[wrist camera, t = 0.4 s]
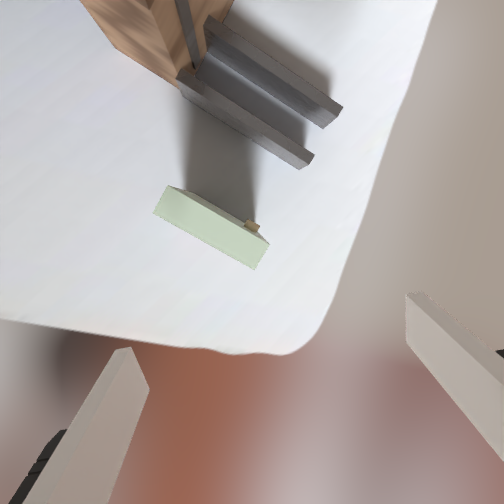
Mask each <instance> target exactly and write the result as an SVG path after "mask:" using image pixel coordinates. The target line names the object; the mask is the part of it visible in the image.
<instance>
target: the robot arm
mask: <svg viewBox="0 0 504 504" xmlns="http://www.w3.org/2000/svg"><path fill="white" fill-rule="evenodd" d="M406 343H407V344H408V345H409V346H410V348H411V349H412V350H413V351H414V352H415V354H416V355H417V356H418V357H419V359H420V360H421V361H422V362H423V363H424V365H425V366H426V367H427V369H428V370H429V371H430V372H431V373H432V375H433V376H434V377H435V378H436V379H437V381H438V382H439V383H440V384H441V386H442V387H443V388H444V389H445V391H446V392H447V393H448V394H449V395H450V397H451V398H452V399H453V400H454V402H455V403H456V404H457V405H458V406H459V407H460V409H461V410H462V411H463V413H464V414H465V415H466V416H467V417H468V419H469V420H470V421H471V422H472V424H473V425H474V426H475V427H476V428H477V430H478V431H479V432H480V433H481V435H482V436H483V437H484V438H485V440H486V441H487V442H488V443H489V444H490V446H491V447H492V448H493V449H494V451H495V452H496V453H497V454H498V455H499V457H500V458H501V459H502V460H503V462H504V349H503V350H497V351H494V350H493V349H491V348H490V347H489V346H488V345H487V344H485V343H484V342H483V341H482V340H481V339H479V338H478V337H477V336H476V335H475V334H473V333H472V332H471V331H470V330H468V329H467V328H466V327H465V326H464V325H463V324H461V323H460V322H459V321H458V320H457V319H455V318H454V317H453V316H451V315H450V314H449V313H448V312H447V311H446V310H444V309H443V308H442V307H441V306H440V305H438V304H437V303H436V302H435V301H434V300H432V299H431V298H430V297H429V296H428V295H426V294H425V293H424V292H423V291H420V292H415V293H409V294H406ZM149 390H150V389H149V386H148V384H147V382H146V380H145V377H144V375H143V373H142V371H141V368H140V366H139V364H138V362H137V359H136V357H135V355H134V353H133V350H132V349H131V347H128V348H122V349H117V350H115V352H114V353H113V355H112V357H111V359H110V360H109V362H108V363H107V365H106V367H105V368H104V370H103V371H102V373H101V375H100V376H99V378H98V380H97V381H96V383H95V385H94V386H93V388H92V390H91V391H90V393H89V395H88V397H87V398H86V400H85V401H84V403H83V404H82V406H81V408H80V409H79V411H78V413H77V414H76V416H75V418H74V419H73V421H72V423H71V424H70V426H69V428H68V429H65V430H60V431H59V432H58V433H57V434H56V435H55V436H54V438H52V440H51V441H50V442H49V443H48V444H47V445H46V446H45V448H44V449H43V451H42V453H41V454H40V456H39V457H38V459H37V462H36V463H34V465H33V466H32V468H31V470H30V471H29V473H28V476H26V477H25V479H24V481H23V482H22V483H21V485H20V487H19V488H18V490H17V491H16V493H15V495H14V496H13V497H12V499H11V501H10V502H9V504H107V503H108V501H109V498H110V495H111V493H112V490H113V487H114V484H115V482H116V479H117V476H118V474H119V471H120V468H121V466H122V463H123V460H124V457H125V455H126V452H127V449H128V447H129V444H130V441H131V439H132V436H133V433H134V430H135V428H136V425H137V423H138V420H139V417H140V414H141V412H142V409H143V406H144V404H145V401H146V398H147V396H148V393H149Z"/></svg>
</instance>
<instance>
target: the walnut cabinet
mask: <svg viewBox="0 0 504 504" xmlns="http://www.w3.org/2000/svg"><path fill="white" fill-rule="evenodd" d="M80 1H81V3H82V4H83V5H84V7H85V8H86V9H87V11H88V12H89V13H90V15H91V16H92V17H93V19H94V20H95V22H96V23H97V24H98V26H99V27H100V28H101V30H102V31H103V32H104V34H105V35H106V36H107V38H108V39H109V40H110V42H111V43H112V44H113V46H114V47H115V48H116V49H117V50H119V51H120V52H122V53H124V54H125V55H127V56H128V57H130V58H131V59H133V60H134V61H136V62H138V63H139V64H141V65H142V66H144V67H145V68H147V69H149V70H150V71H152V72H153V73H155V74H156V75H158V76H160V77H161V78H163V79H164V80H166V81H167V82H169V83H171V84H172V85H174V86H175V87H177V88H178V89H180V88H179V86H178V84H177V81H176V79H175V78H176V76H177V74H178V72H179V71H180V69H181V68H182V69H183V70H185V71H186V72H188V73H190V74H191V75H193V76H194V75H195V74H196V72H197V70H198V68H199V66H200V64H201V62H202V60H203V58H204V56H205V55H206V53H207V48H206V42H205V36H204V30H203V24H204V22H205V20H206V19H207V17H208V15H210V16H212V17H213V18H215V19H216V20H218V21H219V22H221V23H222V22H223V20H224V18H225V17H226V15H227V13H228V11H229V9H230V7H231V5H232V3H233V1H234V0H80Z"/></svg>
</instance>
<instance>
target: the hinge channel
mask: <svg viewBox="0 0 504 504" xmlns="http://www.w3.org/2000/svg"><path fill="white" fill-rule="evenodd" d="M203 30H204V36H205V42H206V48H207V52H208V53H210V54H211V55H213V56H214V57H216V58H217V59H219V60H220V61H222V62H223V63H225V64H226V65H228V66H229V67H231V68H232V69H234V70H235V71H237V72H238V73H240V74H241V75H243V76H244V77H246V78H247V79H249V80H250V81H252V82H253V83H255V84H256V85H258V86H259V87H261V88H262V89H264V90H265V91H267V92H268V93H270V94H271V95H273V96H274V97H276V98H277V99H279V100H280V101H282V102H283V103H285V104H286V105H288V106H289V107H291V108H292V109H294V110H295V111H297V112H298V113H300V114H301V115H303V116H304V117H306V118H307V119H309V120H310V121H312V122H313V123H315V124H316V125H318V126H319V127H321V128H322V129H324V128H325V127H326V126H327V125H328V124H330V123H331V122H332V121H333V120H334V119H336V118H337V117H338V115H339V113H340V112H341V110H342V108H343V107H342V106H341V105H340V104H338V103H337V102H335V101H334V100H332V99H331V98H329V97H328V96H326V95H325V94H324V93H322V92H321V91H319V90H318V89H316V88H315V87H313V86H312V85H311V84H309V83H308V82H306V81H305V80H303V79H302V78H300V77H299V76H297V75H296V74H295V73H293V72H292V71H290V70H289V69H287V68H286V67H284V66H283V65H282V64H280V63H279V62H277V61H276V60H274V59H273V58H271V57H270V56H268V55H267V54H266V53H264V52H263V51H261V50H260V49H258V48H257V47H255V46H254V45H253V44H251V43H250V42H248V41H247V40H245V39H244V38H242V37H241V36H239V35H238V34H237V33H235V32H234V31H232V30H231V29H229V28H228V27H226V26H225V25H224V24H222V23H221V22H219V21H218V20H216V19H215V18H213V17H212V16H210V15H208V17H207V19H206V20H205V22H204V24H203ZM175 79H176V81H177V84H178V86H179V88H180V90H181V93H182V95H183V97H185V98H186V99H188V100H189V101H191V102H192V103H194V104H196V105H197V106H199V107H200V108H202V109H203V110H205V111H207V112H208V113H210V114H211V115H213V116H215V117H216V118H218V119H219V120H221V121H222V122H224V123H226V124H227V125H229V126H230V127H232V128H233V129H235V130H237V131H238V132H240V133H241V134H243V135H244V136H246V137H248V138H249V139H251V140H252V141H254V142H255V143H257V144H259V145H260V146H262V147H263V148H265V149H267V150H268V151H270V152H271V153H273V154H274V155H276V156H278V157H279V158H281V159H282V160H284V161H285V162H287V163H289V164H290V165H292V166H293V167H295V168H296V169H298V170H300V169H302V168H304V167H305V166H307V165H309V164H310V162H311V161H312V159H313V157H314V156H315V155H314V154H313V153H311V152H310V151H308V150H307V149H305V148H303V147H302V146H300V145H299V144H297V143H296V142H294V141H293V140H291V139H290V138H288V137H287V136H285V135H283V134H282V133H280V132H279V131H277V130H276V129H274V128H273V127H271V126H270V125H268V124H266V123H265V122H263V121H262V120H260V119H259V118H257V117H256V116H254V115H253V114H251V113H250V112H248V111H246V110H245V109H243V108H242V107H240V106H239V105H237V104H236V103H234V102H233V101H231V100H230V99H228V98H226V97H225V96H223V95H222V94H220V93H219V92H217V91H216V90H214V89H213V88H211V87H210V86H208V85H206V84H205V83H203V82H202V81H200V80H199V79H197V78H196V77H194V76H193V75H191V74H190V73H188V72H186V71H185V70H183V69H182V68H181V69H180V71H179V72H178V74H177V76H176V78H175Z"/></svg>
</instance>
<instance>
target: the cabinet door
mask: <svg viewBox="0 0 504 504" xmlns="http://www.w3.org/2000/svg"><path fill="white" fill-rule="evenodd" d="M153 214H155V215H157V216H159V217H160V218H162V219H164V220H166V221H168V222H169V223H171V224H173V225H175V226H176V227H178V228H180V229H182V230H184V231H185V232H187V233H189V234H191V235H193V236H194V237H196V238H198V239H200V240H201V241H203V242H205V243H207V244H209V245H210V246H212V247H214V248H216V249H218V250H219V251H221V252H223V253H225V254H226V255H228V256H230V257H232V258H234V259H235V260H237V261H239V262H241V263H242V264H244V265H246V266H248V267H250V268H251V269H253V270H255V268H256V267H257V265H258V263H259V262H260V260H261V258H262V257H263V255H264V253H265V252H266V250H267V248H268V247H269V245H270V244H269V243H268V242H267V241H266V240H265V239H264V238H263V237H262V236H261V235H260V234H259V233H258V232H257V231H258V229H259V227H260V226H259V225H258V224H256V223H254V222H252V221H251V220H249V219H247V221H246V222H245V223H244V222H242V221H241V220H239V219H237V218H235V217H234V216H232V215H230V214H229V213H227V212H225V211H223V210H222V209H220V208H218V207H217V206H215V205H213V204H211V203H210V202H208V201H206V200H205V199H203V198H201V197H199V196H198V195H196V194H194V193H192V192H188V191H185V190H182V189H178V188H175V187H172V186H167V187H166V189H165V191H164V193H163V195H162V197H161V198H160V200H159V202H158V204H157V206H156V208H155V210H154V211H153Z"/></svg>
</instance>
